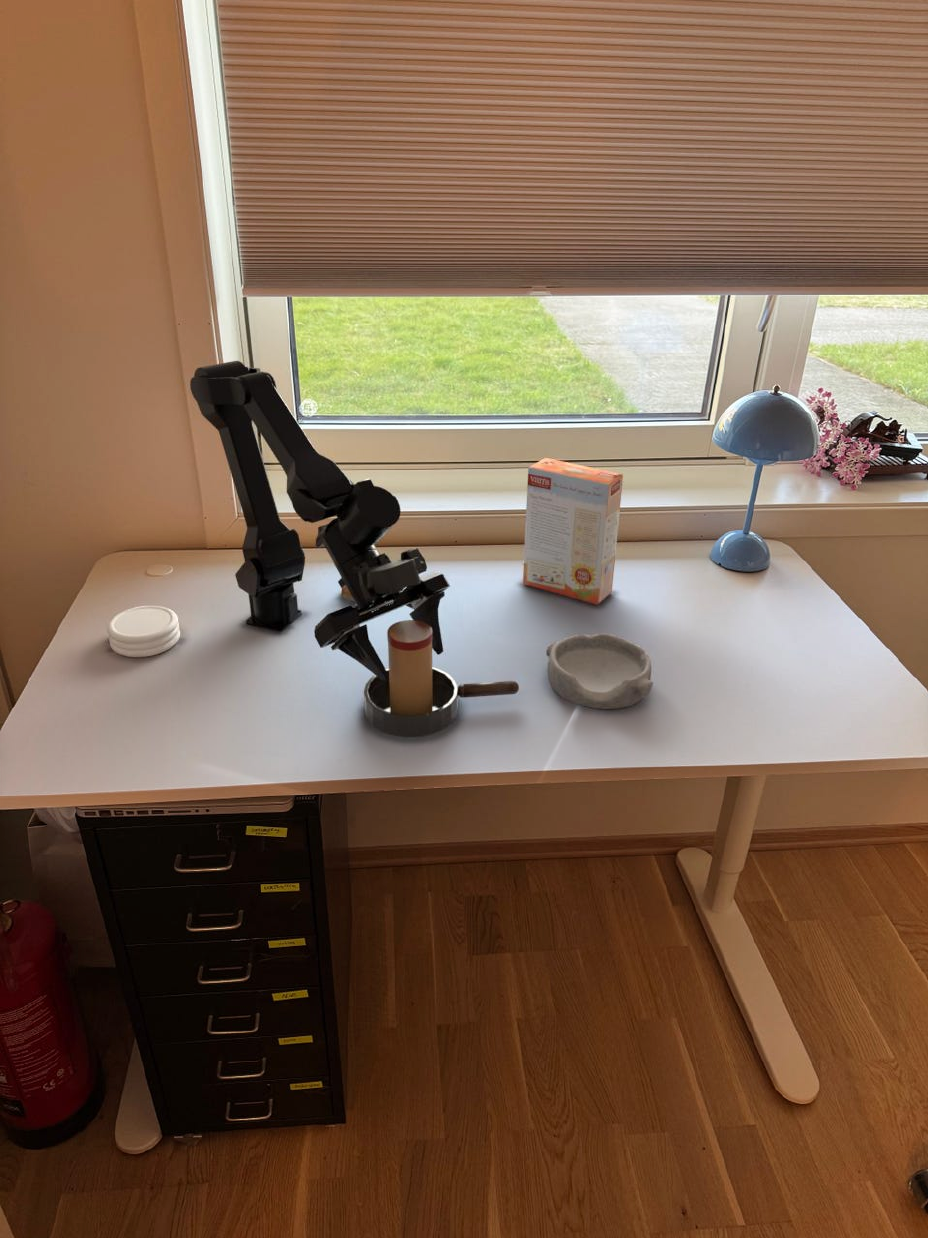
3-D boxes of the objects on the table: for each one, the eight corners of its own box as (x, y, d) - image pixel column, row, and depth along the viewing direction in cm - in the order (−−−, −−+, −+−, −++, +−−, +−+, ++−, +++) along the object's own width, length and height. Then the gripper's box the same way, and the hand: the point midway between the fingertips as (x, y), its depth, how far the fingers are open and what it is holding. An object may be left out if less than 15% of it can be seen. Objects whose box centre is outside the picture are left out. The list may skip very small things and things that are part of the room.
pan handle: (457, 701, 122) (457, 689, 122) (455, 693, 124) (455, 682, 123) (519, 696, 123) (520, 685, 123) (517, 688, 125) (517, 677, 124)
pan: (349, 726, 120) (347, 703, 119) (390, 678, 130) (389, 657, 128) (435, 749, 117) (435, 726, 115) (471, 698, 126) (471, 676, 125)
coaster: (132, 621, 143) (128, 601, 142) (192, 628, 142) (189, 608, 140) (97, 654, 135) (92, 633, 133) (160, 662, 133) (157, 641, 131)
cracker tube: (382, 715, 122) (379, 637, 116) (401, 693, 126) (399, 616, 120) (422, 725, 120) (421, 646, 114) (439, 702, 125) (439, 625, 119)
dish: (661, 710, 124) (666, 679, 122) (561, 719, 122) (563, 687, 120) (627, 653, 137) (631, 624, 134) (536, 660, 135) (537, 631, 132)
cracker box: (613, 592, 153) (625, 472, 143) (597, 607, 149) (609, 484, 139) (538, 571, 160) (545, 454, 149) (521, 584, 155) (526, 466, 145)
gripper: (320, 556, 109) (383, 673, 107) (440, 513, 120) (498, 619, 118) (288, 592, 118) (346, 701, 116) (402, 549, 129) (456, 648, 127)
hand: (414, 666), depth 119 cm, fingers open, 9 cm apart
